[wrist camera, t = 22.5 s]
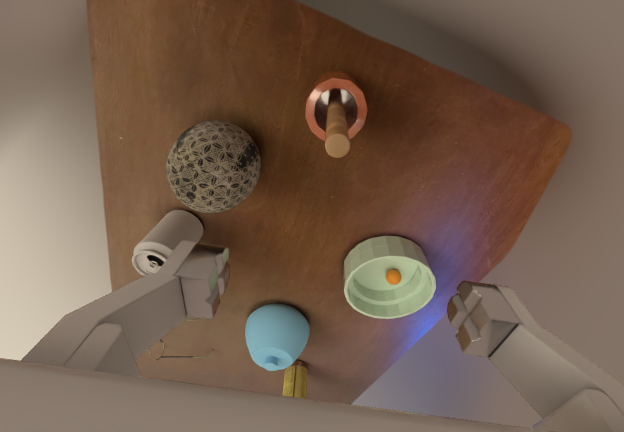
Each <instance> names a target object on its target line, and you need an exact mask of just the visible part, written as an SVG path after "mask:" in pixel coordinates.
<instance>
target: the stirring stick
mask: <svg viewBox="0 0 624 432" xmlns="http://www.w3.org/2000/svg"><path fill="white" fill-rule="evenodd" d="M325 149H326V151H327V153H328V154H329V155H330V156H332V157H335V158H340V157H343V156H345V155H346V154H347V153H348V151H349V149H350V140H349V134H348V128H347V123H346V117H345V111H344V105H343V99H342V96H341V95H340V94H339V93H336V92H335V93H332V94H331V95H330V96H329V98H328V111H327V125H326V140H325Z"/></svg>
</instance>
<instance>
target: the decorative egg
mask: <svg viewBox="0 0 624 432" xmlns="http://www.w3.org/2000/svg"><path fill="white" fill-rule="evenodd" d="M260 170H261V159H260V154H259V151H258V148H257V146H256V144H255V143H254V141H253V139H252V138H251V137H250V136H249V135H248V134H247V133H246V132H245V131H244V130H243V129H241V128H240V127H238V126H236V125H234V124H232V123H229V122H225V121H218V120H217V121H206V122H202V123H199V124H196V125H194V126H192V127H191V128H189V129H188V130H186V131H185V132H184V133H183V134H182V135H181V136H180V137H179V138H178V139H177V140H176V142H175V143H174V145H173V146H172V148H171V150H170V153H169V155H168V159H167V163H166V174H167V179H168V183H169V186H170V188H171V190H172V192H173V193H174V195H175V196H176V197H177V198H178V199H179V201H181V202H182V203H183V204H184V205H186V206H187V207H189V208H191V209H193V210H196V211H199V212H205V213H217V212H222V211H226V210H229V209H231V208H233V207H235V206H237V205H238V204H240V203H241V202H242V201H244V200H245V199H246V198H247V197H248V196H249V195H250V194H251V192H252V191H253V189H254V188H255V186H256V184H257V182H258V179H259V176H260Z"/></svg>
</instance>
